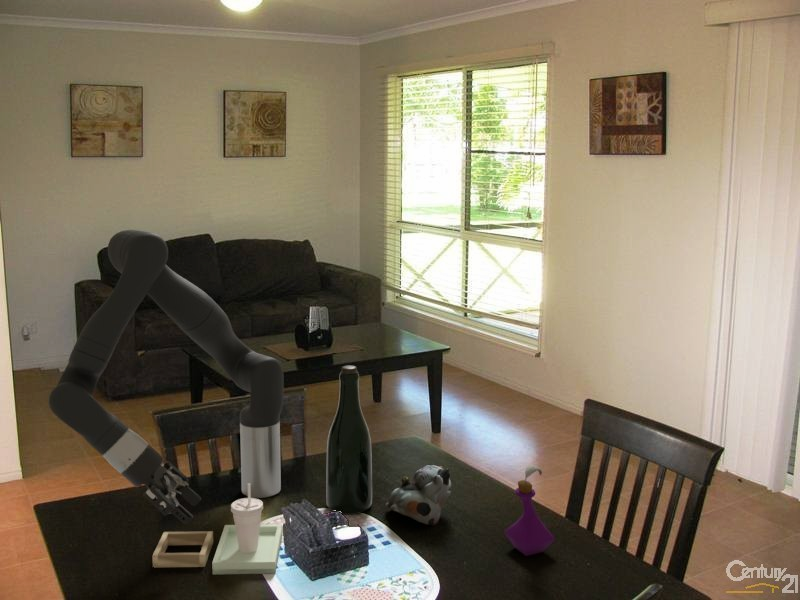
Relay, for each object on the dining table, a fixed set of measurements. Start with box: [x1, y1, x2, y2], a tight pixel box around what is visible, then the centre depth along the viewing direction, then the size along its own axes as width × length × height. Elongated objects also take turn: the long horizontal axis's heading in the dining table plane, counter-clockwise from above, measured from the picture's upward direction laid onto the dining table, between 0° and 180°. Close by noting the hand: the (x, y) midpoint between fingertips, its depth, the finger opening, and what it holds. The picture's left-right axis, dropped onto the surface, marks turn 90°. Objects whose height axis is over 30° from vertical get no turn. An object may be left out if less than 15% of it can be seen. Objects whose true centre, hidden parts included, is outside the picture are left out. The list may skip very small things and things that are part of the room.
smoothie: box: [230, 483, 264, 554], centre depth 166 cm, size 6×6×14 cm
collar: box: [152, 530, 214, 568], centre depth 167 cm, size 10×10×2 cm
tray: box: [211, 524, 283, 575], centre depth 167 cm, size 16×12×2 cm
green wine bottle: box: [325, 364, 373, 515], centre depth 187 cm, size 10×10×33 cm
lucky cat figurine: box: [385, 464, 452, 527], centre depth 185 cm, size 15×12×14 cm
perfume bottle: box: [503, 464, 556, 557], centre depth 169 cm, size 8×8×18 cm
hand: (194, 511), depth 165 cm, fingers open, 8 cm apart
